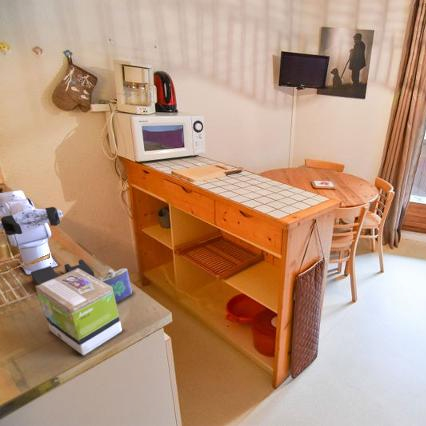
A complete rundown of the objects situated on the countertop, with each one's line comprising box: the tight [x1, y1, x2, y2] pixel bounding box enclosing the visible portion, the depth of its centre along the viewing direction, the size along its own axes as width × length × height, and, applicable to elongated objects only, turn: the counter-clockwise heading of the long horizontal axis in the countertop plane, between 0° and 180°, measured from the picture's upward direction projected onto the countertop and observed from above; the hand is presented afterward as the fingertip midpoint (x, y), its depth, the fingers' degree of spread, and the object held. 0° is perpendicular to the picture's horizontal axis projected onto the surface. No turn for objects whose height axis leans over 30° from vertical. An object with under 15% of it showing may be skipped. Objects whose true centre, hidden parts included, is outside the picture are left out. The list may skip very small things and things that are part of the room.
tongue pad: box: [30, 266, 60, 286], centre depth 97 cm, size 12×5×4 cm, turn 51°
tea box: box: [35, 268, 123, 356], centre depth 79 cm, size 15×10×15 cm
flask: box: [97, 267, 133, 305], centre depth 92 cm, size 9×3×11 cm, turn 148°
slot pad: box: [63, 259, 96, 278], centre depth 102 cm, size 10×5×4 cm, turn 51°
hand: (38, 226), depth 88 cm, fingers open, 7 cm apart
